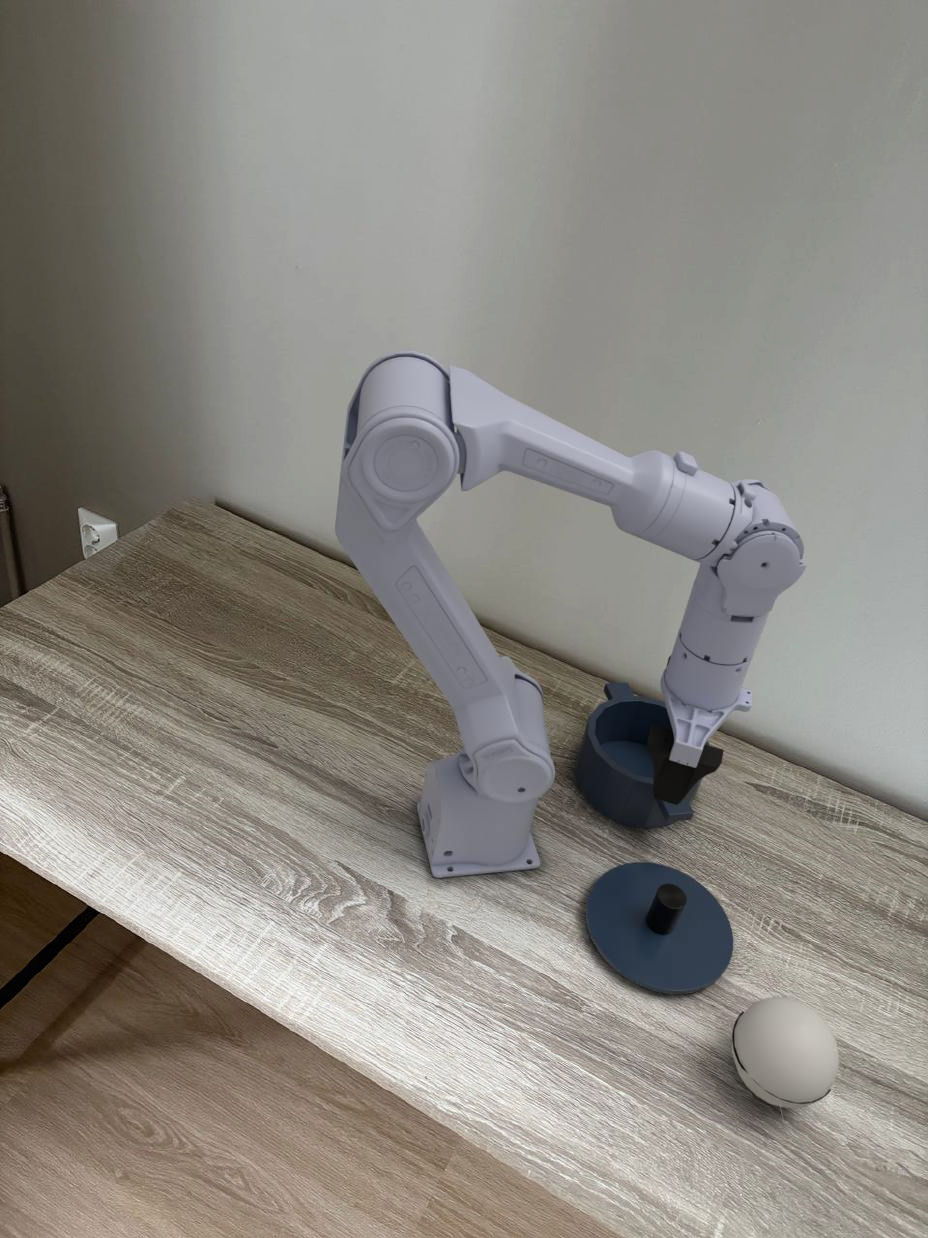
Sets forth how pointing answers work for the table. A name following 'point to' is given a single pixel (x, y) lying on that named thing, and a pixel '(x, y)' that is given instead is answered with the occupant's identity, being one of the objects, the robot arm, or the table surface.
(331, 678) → the table surface
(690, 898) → the lid
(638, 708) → the pot
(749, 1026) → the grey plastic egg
